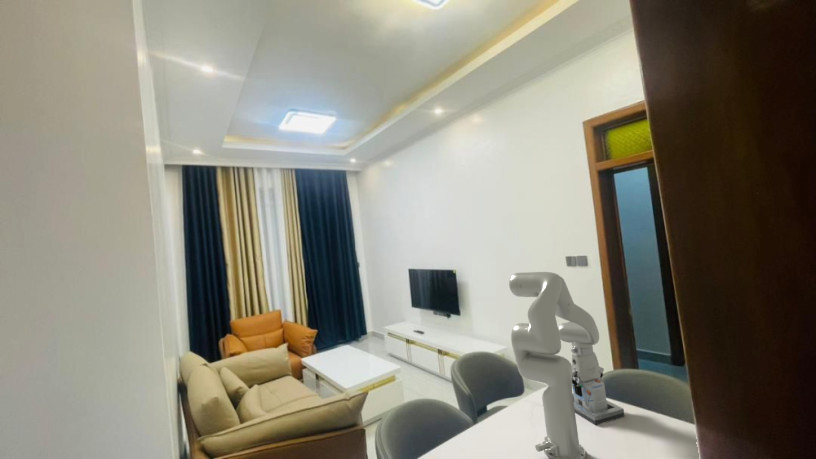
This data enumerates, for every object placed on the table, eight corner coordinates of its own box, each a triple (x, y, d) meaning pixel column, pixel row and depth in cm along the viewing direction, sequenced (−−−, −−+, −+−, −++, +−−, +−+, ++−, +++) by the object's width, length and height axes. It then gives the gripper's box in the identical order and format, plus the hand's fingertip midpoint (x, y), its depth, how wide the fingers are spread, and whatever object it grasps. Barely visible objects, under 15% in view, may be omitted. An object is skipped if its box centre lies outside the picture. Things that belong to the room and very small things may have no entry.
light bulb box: (573, 402, 132) (570, 375, 132) (586, 398, 134) (583, 372, 134) (595, 413, 121) (591, 385, 122) (608, 409, 123) (604, 381, 124)
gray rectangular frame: (595, 425, 117) (594, 417, 117) (560, 403, 134) (559, 396, 135) (624, 416, 121) (623, 408, 121) (587, 396, 138) (586, 390, 138)
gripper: (572, 356, 123) (578, 401, 122) (607, 348, 128) (613, 391, 127) (558, 351, 131) (564, 393, 129) (592, 344, 135) (597, 384, 134)
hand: (588, 392), depth 128 cm, fingers open, 9 cm apart
